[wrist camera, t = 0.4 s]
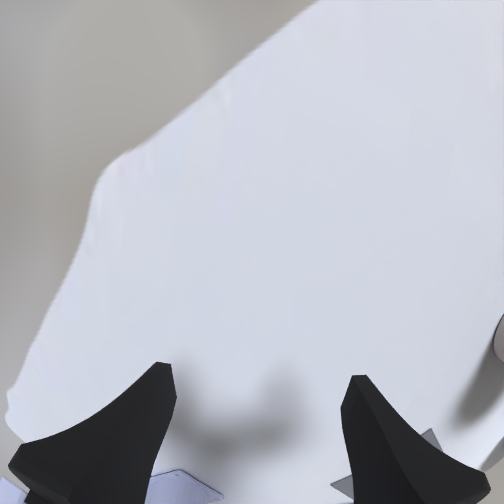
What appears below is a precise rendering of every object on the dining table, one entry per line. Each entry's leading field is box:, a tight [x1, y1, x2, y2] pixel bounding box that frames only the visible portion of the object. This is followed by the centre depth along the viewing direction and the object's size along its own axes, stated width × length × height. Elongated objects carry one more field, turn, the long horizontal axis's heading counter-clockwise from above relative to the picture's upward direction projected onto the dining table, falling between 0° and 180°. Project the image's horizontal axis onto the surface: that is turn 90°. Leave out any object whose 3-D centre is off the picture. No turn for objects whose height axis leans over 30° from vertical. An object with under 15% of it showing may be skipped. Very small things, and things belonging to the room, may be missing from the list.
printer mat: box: [331, 429, 443, 499], centre depth 27 cm, size 14×18×1 cm
